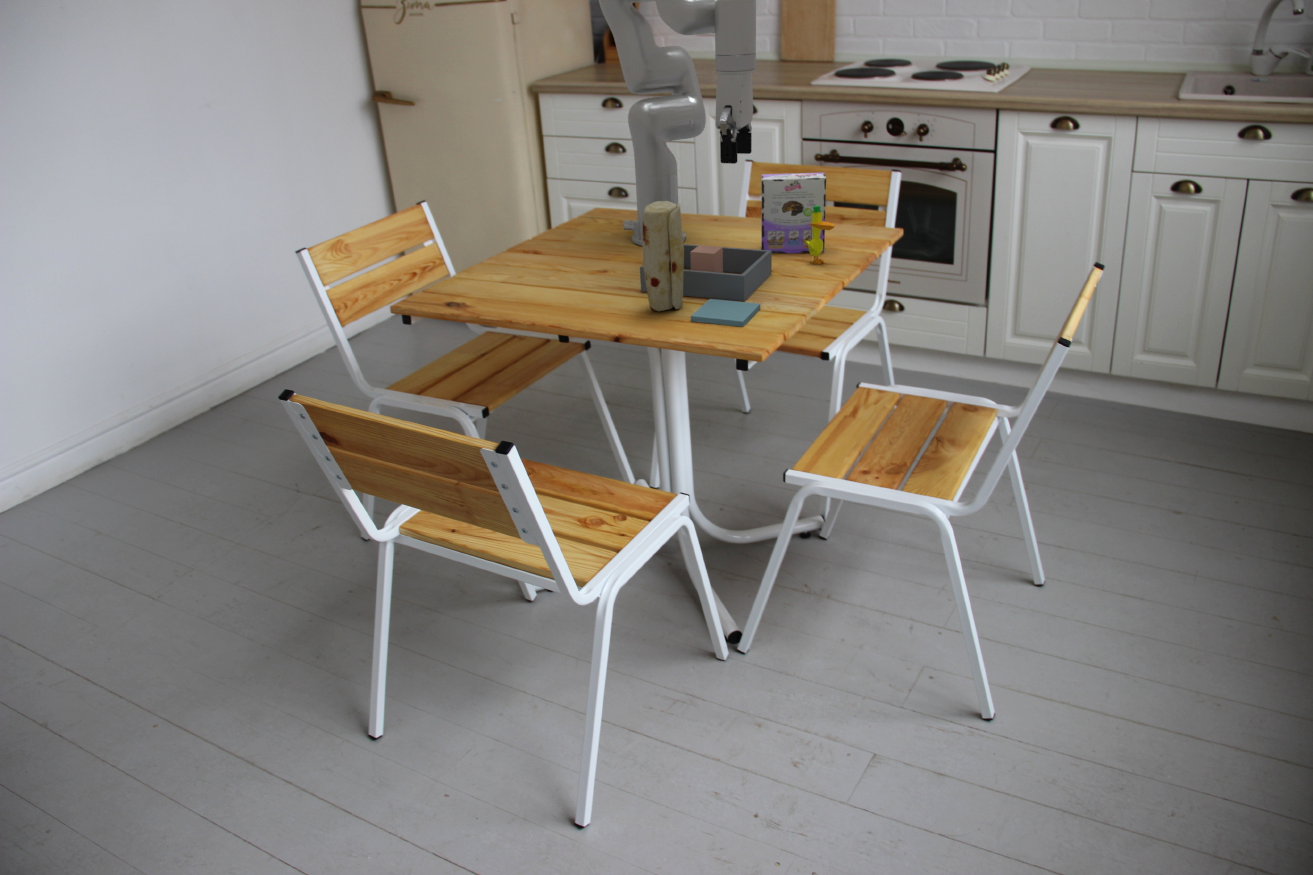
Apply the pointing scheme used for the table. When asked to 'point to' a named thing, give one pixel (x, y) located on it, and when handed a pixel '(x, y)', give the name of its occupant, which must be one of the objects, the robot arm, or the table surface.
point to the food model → (663, 255)
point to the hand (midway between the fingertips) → (736, 158)
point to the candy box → (790, 210)
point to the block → (707, 259)
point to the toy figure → (817, 234)
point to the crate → (725, 274)
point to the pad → (725, 312)
